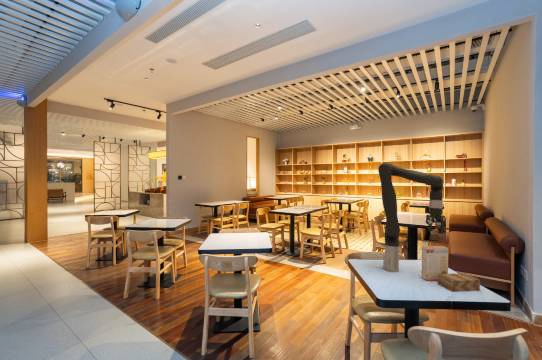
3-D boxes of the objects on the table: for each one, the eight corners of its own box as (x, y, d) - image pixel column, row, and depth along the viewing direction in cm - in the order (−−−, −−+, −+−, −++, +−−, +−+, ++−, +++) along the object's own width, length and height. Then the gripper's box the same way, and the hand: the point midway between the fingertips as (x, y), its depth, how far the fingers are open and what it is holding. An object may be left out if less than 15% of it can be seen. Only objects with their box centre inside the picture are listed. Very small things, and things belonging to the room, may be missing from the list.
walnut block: (452, 291, 155) (452, 280, 155) (437, 284, 166) (437, 274, 166) (479, 290, 158) (479, 279, 158) (463, 282, 168) (463, 273, 168)
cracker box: (442, 277, 177) (442, 245, 177) (448, 281, 171) (449, 248, 171) (420, 277, 177) (421, 245, 177) (426, 281, 171) (427, 247, 171)
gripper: (422, 205, 180) (422, 230, 180) (438, 208, 166) (438, 234, 166) (432, 205, 181) (432, 230, 181) (449, 208, 167) (449, 234, 167)
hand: (435, 232), depth 174 cm, fingers open, 8 cm apart
